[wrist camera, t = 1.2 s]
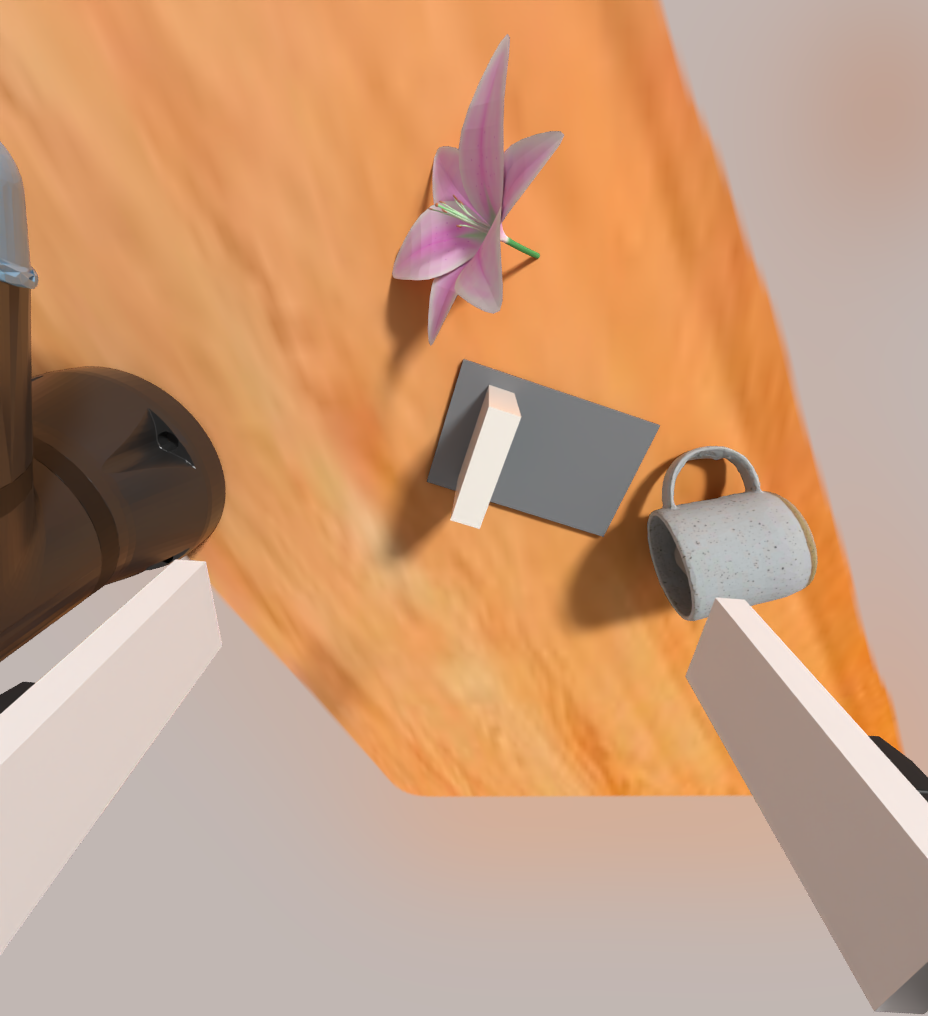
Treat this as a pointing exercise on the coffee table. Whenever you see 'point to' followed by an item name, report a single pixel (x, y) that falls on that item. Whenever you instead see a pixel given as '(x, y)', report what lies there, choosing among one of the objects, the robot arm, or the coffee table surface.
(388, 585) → the coffee table surface
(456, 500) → the tile
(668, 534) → the ceramic mug
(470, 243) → the lily
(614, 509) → the mat
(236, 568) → the coffee table surface
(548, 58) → the coffee table surface
